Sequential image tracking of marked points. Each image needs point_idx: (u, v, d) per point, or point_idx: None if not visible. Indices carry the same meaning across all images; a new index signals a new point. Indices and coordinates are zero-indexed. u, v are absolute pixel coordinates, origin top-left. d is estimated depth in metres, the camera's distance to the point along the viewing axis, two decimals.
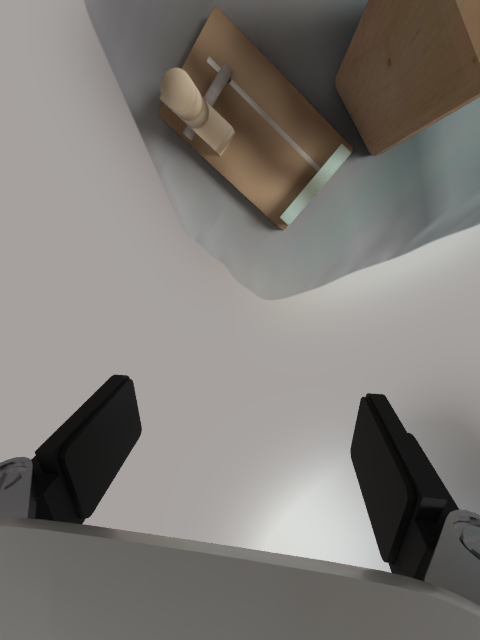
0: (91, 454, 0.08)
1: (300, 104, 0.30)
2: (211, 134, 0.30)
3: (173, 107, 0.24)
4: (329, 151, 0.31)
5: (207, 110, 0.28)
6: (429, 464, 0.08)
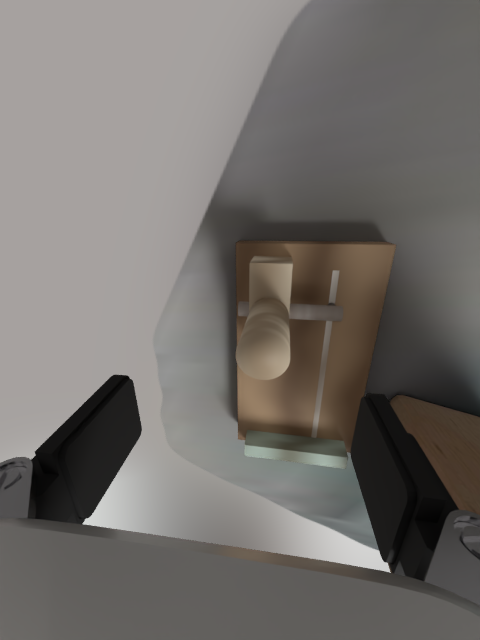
0: (91, 454, 0.08)
1: (356, 389, 0.25)
2: None
3: (239, 363, 0.15)
4: (335, 436, 0.27)
5: None
6: (429, 464, 0.08)
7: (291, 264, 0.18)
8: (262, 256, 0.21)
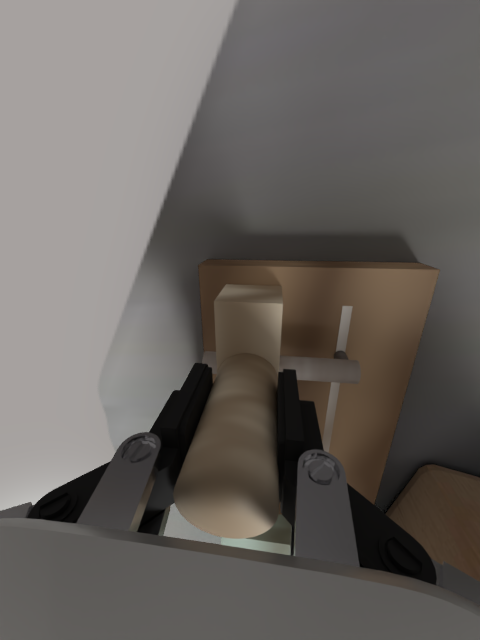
0: (194, 433, 0.09)
1: (373, 464, 0.18)
2: None
3: (182, 510, 0.08)
4: None
5: None
6: (316, 422, 0.09)
7: (280, 304, 0.11)
8: (238, 285, 0.14)
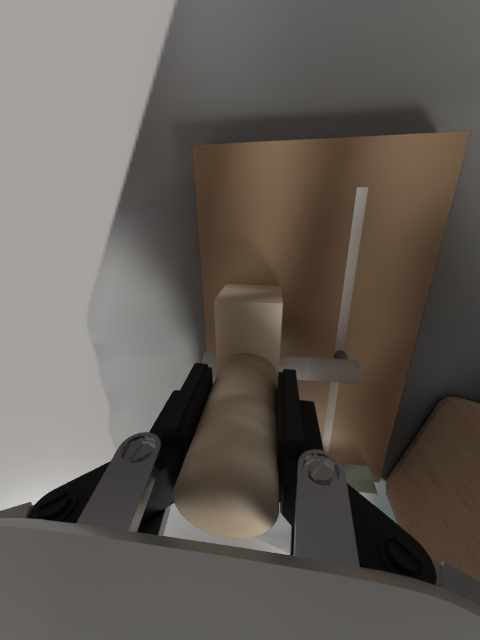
0: None
1: (390, 390, 0.16)
2: None
3: (182, 510, 0.08)
4: (355, 459, 0.18)
5: None
6: (316, 422, 0.09)
7: (280, 304, 0.11)
8: (238, 284, 0.14)
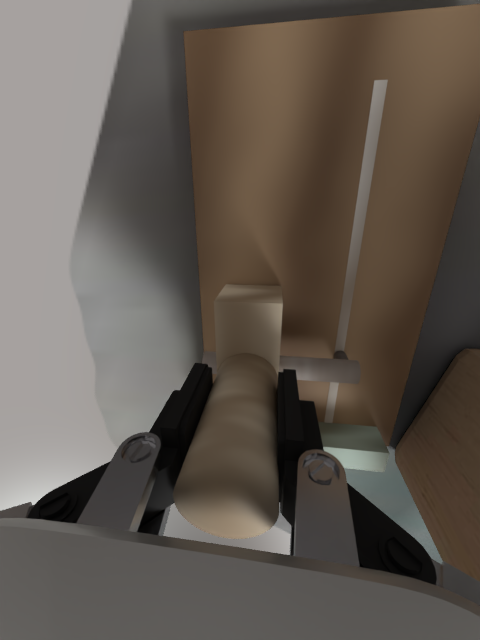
0: (194, 433, 0.09)
1: (404, 335, 0.14)
2: None
3: (182, 511, 0.08)
4: (363, 419, 0.17)
5: None
6: (316, 422, 0.09)
7: (280, 304, 0.11)
8: (238, 285, 0.14)
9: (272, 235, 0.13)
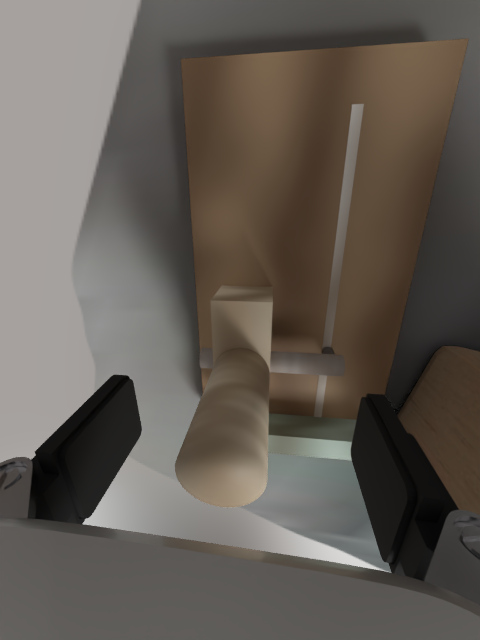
0: (91, 454, 0.08)
1: (386, 333, 0.15)
2: None
3: (182, 482, 0.09)
4: (350, 413, 0.18)
5: None
6: (429, 464, 0.08)
7: (271, 303, 0.12)
8: (232, 286, 0.15)
9: (263, 241, 0.14)
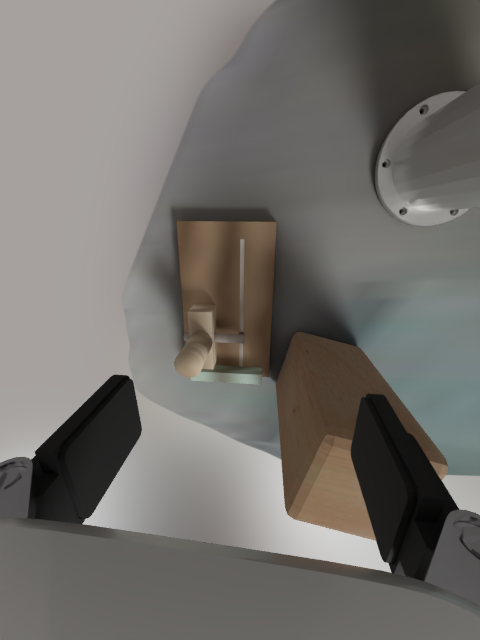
0: (91, 454, 0.08)
1: (265, 325, 0.35)
2: None
3: (176, 368, 0.28)
4: (255, 364, 0.37)
5: None
6: (429, 464, 0.08)
7: (211, 312, 0.32)
8: None
9: (210, 286, 0.34)
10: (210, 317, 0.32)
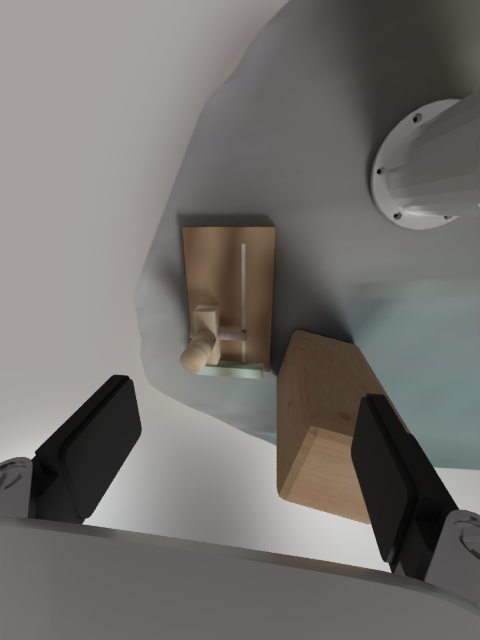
0: (91, 454, 0.08)
1: (266, 324, 0.38)
2: None
3: (182, 364, 0.31)
4: (257, 359, 0.40)
5: None
6: (429, 464, 0.08)
7: (214, 312, 0.35)
8: (203, 304, 0.38)
9: (214, 287, 0.37)
10: (213, 316, 0.35)
